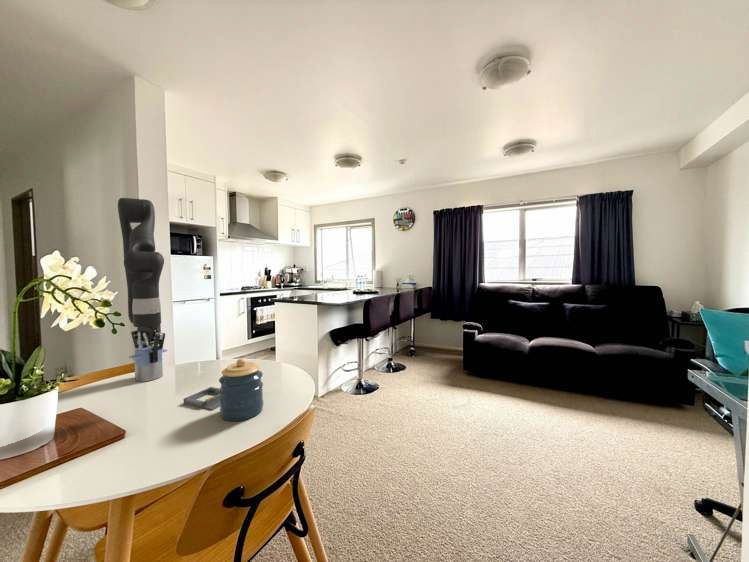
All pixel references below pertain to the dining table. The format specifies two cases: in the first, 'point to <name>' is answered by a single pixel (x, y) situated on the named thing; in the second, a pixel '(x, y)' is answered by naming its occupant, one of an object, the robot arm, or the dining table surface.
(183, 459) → the dining table surface
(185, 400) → the chassis plate
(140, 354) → the block
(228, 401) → the canister
